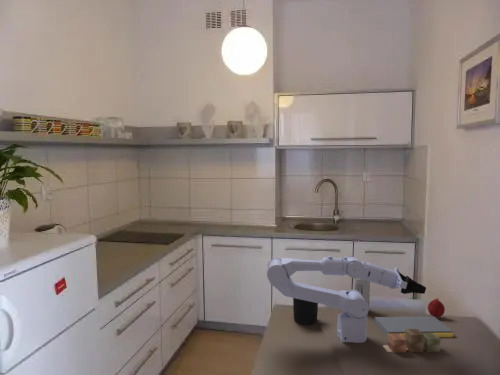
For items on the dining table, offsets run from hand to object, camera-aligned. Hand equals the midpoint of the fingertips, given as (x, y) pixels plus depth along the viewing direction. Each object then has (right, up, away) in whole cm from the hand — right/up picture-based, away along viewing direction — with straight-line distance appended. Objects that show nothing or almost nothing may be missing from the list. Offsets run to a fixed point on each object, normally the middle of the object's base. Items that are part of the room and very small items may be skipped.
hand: (419, 287), depth 122 cm
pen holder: (-35, -17, +18) cm, 43 cm away
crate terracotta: (-10, -18, -5) cm, 21 cm away
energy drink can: (-11, -17, +27) cm, 34 cm away
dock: (+1, -18, +9) cm, 20 cm away
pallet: (-4, -20, -5) cm, 20 cm away
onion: (+15, -17, +20) cm, 30 cm away
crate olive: (+1, -18, -5) cm, 19 cm away
